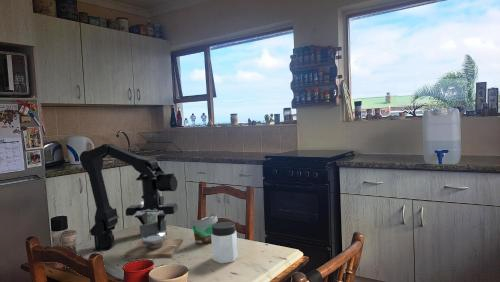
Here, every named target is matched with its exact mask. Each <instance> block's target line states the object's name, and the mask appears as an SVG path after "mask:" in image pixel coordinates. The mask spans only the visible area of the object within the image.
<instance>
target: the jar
mask: <svg viewBox="0 0 500 282" xmlns="http://www.w3.org/2000/svg"><path fill="white" fill-rule="evenodd" d="M237 235H238V234H237V230H236V224H235V223H234V222H231V221H220V222H216V224H213V225H212V234H211V242H212V243H211V254H212V255H211V256H212V261H214V262H216V263H219V264H226V263H227V264H228V263H233V262H235V261H236V259H238V257H239V253H238V252H239V251H238V237H237Z"/></svg>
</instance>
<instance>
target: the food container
mask: <svg viewBox="0 0 500 282" xmlns="http://www.w3.org/2000/svg"><path fill="white" fill-rule="evenodd" d="M218 219H219V218H218V216H217V214H216V213H213V212H211V215H209V216H205V217H201V218H200V219H197V220H195V219H192V220H191V226H192V230H193V235H194V236H193V237H194V243H195V245H197V246H199V245H200V246H203V245H210V244H212V242H211V234H212V225H213V224H216V223H218V221H219V220H218Z"/></svg>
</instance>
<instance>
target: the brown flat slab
mask: <svg viewBox="0 0 500 282" xmlns="http://www.w3.org/2000/svg"><path fill="white" fill-rule="evenodd" d="M183 239H184V238H172V239H171V238H170V239H169V238H168V239H167V238H166V240H165V241H164V242H162V243H159V244H154V245H145V244H143V243H142V239H140V240H138V241H137V242H136V243H135V244H134V245H133V246H131V247H130V248H129V249H128V250H127V251H126V252H125V253H124V254H123V255H122V256H123V259H143V258H144V259H146V258H148V259H149V258H153V259H154V258H173V256H174V255H175V254H176V252H177V250H179V248H180V247H181V245H182V244H183V243H184V240H183Z"/></svg>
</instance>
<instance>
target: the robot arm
mask: <svg viewBox="0 0 500 282" xmlns="http://www.w3.org/2000/svg"><path fill="white" fill-rule="evenodd" d="M108 156H110V157H112V158H114V159H116V160H118V161H120V162H123V163H125V164H127V165H130V166H131V167H132V168H133V170H135V171H137V172H138V173H139V175H138V177H136V179H135V180H136V181H141V190H142V195H141V199H142V200H143V202H144V206H143V207H141V205H140V204H131V205H129V206H128V207H126V209H125V216H127V217H129V216H130V217H132V216H134V215H135V216H134V217H135V218H137V219H138V221H139V222H140V224H141V225H144V224H147V223H148V220H147V213H148V212H156V213H158V214H156V221H157V220H158V230H159V232H160V231H161V228H162V224H163V220H165V217H167V215H174V214H176V212H177V211H178V210H179V208H178V204H177V203H175V202H174V203H166V204H164V203H165V197H164V196H161V193H160V192H176V191H177V188H178V179H177V177H176V176H175V173H174V172H170V173H165V172H164V170H163V169H162V167H161V166H160V165H159V162H158V160H157V159H156V158H155V157H152V156H151V157H150V156H145V155H144V156H143V155H138V154H136V153H133V152H130V151H128V150H126V149H124V148H122V147H120V146H117V145H115V144H114V143H110V142H109V143H103V144H101V145H99V146H97V147H95V148H93V149H89V150H84V151H82V152H81V153H80V155H79V157H78V158H79V161H80V165H81V167H82V168H83V170H84V171H85V172H86V173H87V174H88V180H89V183H90V187H91V191H92V195H93V199H94V204H95V207H96V209H95V213H94V214H95V215H94V225H93V226H92V227H91V228H90V229H89V233H90V235H91V236H92V237H93V238H94V239H93V241H94V248H93V249H92V251H108V250H110V249H112V248H113V247H114V246H115V245H116V242H115V235H114V233H113V230H115V228H116V225H117V224H118V222H119V220H118V219H119V218H120V217H119V215H118V210H117V208H112V206H111V204H110V202H109V198H108V192H107V188H106V185H105V181H104V176H103V173H102V170H103V166H104V159H105V158H107V157H108ZM147 209H150V210H147Z"/></svg>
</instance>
